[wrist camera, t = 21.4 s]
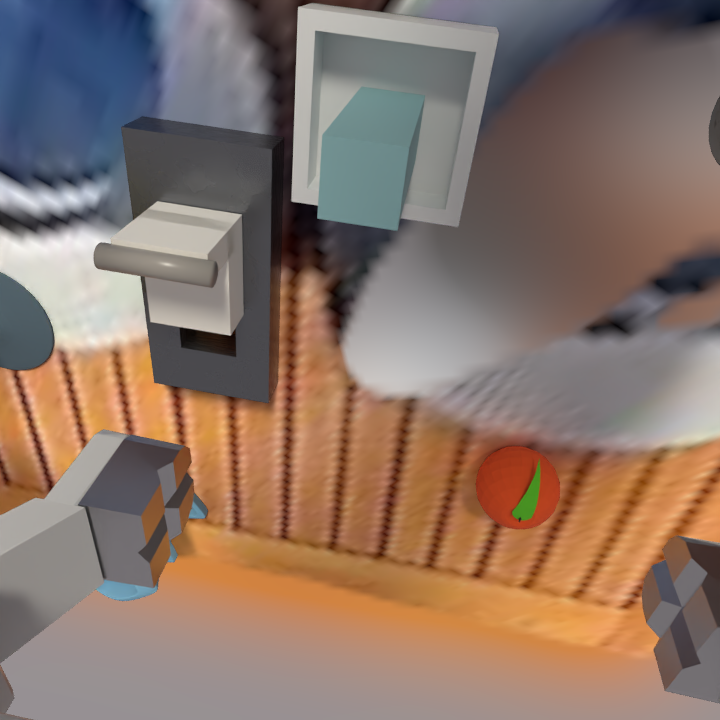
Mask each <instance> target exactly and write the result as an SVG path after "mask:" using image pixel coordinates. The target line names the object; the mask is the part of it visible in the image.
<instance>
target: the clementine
mask: <svg viewBox="0 0 720 720" xmlns="http://www.w3.org/2000/svg"><path fill="white" fill-rule="evenodd" d="M476 490H477V496H478V500H479V502H480V504H481V506H482V508H483V509H484V511H485V512H486V514H487V515H488V516H489V517H490V518H492V519H493V520H494V521H496V522H497V523H499V524H500V525H502V526H505V527H508V528H512V529H528V528H533V527H536V526H538V525H540V524H541V523H543V522H544V521H546V520H547V519H548V518H549V517H550V516H551V515H552V514H553V512H554V510H555V508H556V506H557V503H558V501H559V498H560V482H559V479H558V477H557V474H556V471H555V469H554V467H553V466H552V465H551V464H550V462H549V461H548V460H547V459H546V458H545V457H544V456H543V455H541V454H540V453H538V452H537V451H534V450H532V449H529V448H526V447H521V446H510V447H505V448H502V449H500V450H498V451H496V452H494V453H492V454H491V455H490V456H489V457H487V458H486V460H485V461H484V463H483V464H482V466H481V467H480V469H479V472H478V475H477V480H476Z"/></svg>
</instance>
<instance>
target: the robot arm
mask: <svg viewBox="0 0 720 720" xmlns="http://www.w3.org/2000/svg"><path fill="white" fill-rule="evenodd" d="M191 462H192V461H191V454H190V448H188V447H186V446H183V445H178V444H173V443H168V442H164V441H159V440H154V439H149V438H144V437H140V436H135V435H128V434H123V433H118V432H113V431H109V430H104V429H103V430H102V431H100V432H98V433H96V434H95V435H94V436H93V437H92V439H91V440H90V441H89V442H88V444H87V445H86V446H85V447H84V449H83V450H82V451H81V453H80V454H79V455H78V456H77V458H76V459H75V460H74V461H73V463H72V464H71V465H70V467H69V468H68V469H67V470H66V472H65V473H64V474H63V475H62V477H61V478H60V479H59V481H58V482H57V483H56V484H55V486H54V487H53V488H52V490H51V491H50V492H49V493H48V495H47V496H46V497H45V498H44V499H40V498H34V499H32V500H30V501H28V502H26V503H24V504H22V505H20V506H18V507H16V508H14V509H12V510H10V511H8V512H6V513H4V514H2V515H0V663H1V662H2V661H4V660H5V659H6V658H8V657H9V656H10V655H12V654H13V653H14V652H16V651H17V650H18V649H19V648H21V647H22V646H23V645H24V644H26V643H27V642H28V641H30V640H31V639H32V638H34V637H35V636H36V635H38V634H39V633H40V632H41V631H42V630H44V629H45V628H46V627H48V626H49V625H50V624H52V623H53V622H54V621H56V620H57V619H58V618H60V617H61V616H62V615H63V614H65V613H66V612H67V611H69V610H70V609H71V608H72V607H74V606H75V605H76V604H78V603H79V602H80V601H81V600H83V599H84V598H85V597H87V596H88V595H89V594H90V593H92V592H93V591H94V590H96V589H97V588H98V587H100V586H101V585H102V584H103V583H104V580H108V581H114V582H120V583H126V584H131V585H137V586H143V587H149V588H154V587H155V585H156V583H157V581H158V579H159V577H160V575H161V573H162V571H163V569H164V567H165V565H166V563H167V561H168V559H169V557H170V555H171V552H170V544H169V541H170V540H171V539H173V538H175V537H176V536H178V535H179V534H181V533H182V531H183V529H184V527H185V525H186V523H187V520H188V518H189V514H190V511H191V507H192V504H193V496H194V483H193V479H192V478H191V477H190V476H189V475H188V474H187V473H186V472H187V470H188V468H189V466H190V464H191ZM662 550H663V553H664V556H665V559H666V560H664V561H662V562H660V563H657V564H655V565H653V566H651V568H650V570H649V572H648V573H647V575H646V577H645V579H644V584H643V590H642V604H643V611H644V615H645V619H646V623H647V624H648V625H649V626H650V628H651V629H652V630H653V631H654V632H655V633H656V634H657V636H658V637H659V638H660V639H659V640H658V642H657V644H656V646H655V648H654V653H655V657H656V660H657V664H658V668H659V671H660V674H661V678H662V682H663V685H664V689H665V691H667V692H672V693H676V694H680V695H685V696H689V697H694V698H698V699H703V700H707V701H711V702H715V703H720V543H717V542H711V541H705V540H699V539H694V538H688V537H682V536H674V537H673V538H671V539H669V540H668V542H667V543H666V545H665V546H664V548H663V549H662ZM13 699H14V694H13V689H12V687H11V685H10V683H9V681H8V679H7V677H6V675H5V673H4V671H3V669H2V667H1V665H0V720H32V719H28V718H23V717H19V716H14V715H9V714H5V713H6V712H7V710H8V708H9V707H10V705H11V703H12V701H13Z"/></svg>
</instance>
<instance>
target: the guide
mask: <svg viewBox="0 0 720 720" xmlns="http://www.w3.org/2000/svg"><path fill="white" fill-rule="evenodd" d="M121 129H122V137H123V144H124V152H125V160H126V167H127V175H128V183H129V191H130V198H131V206H132V214H133V220H134V219H136V218H137V217H138V216H139V215H141V214H142V213H143V212H144V211H146V210H147V209H148V208H149V207H151V206H152V205H153V204H155V203H156V202H157V201H159V202H166V203H172V204H178V205H185V206H191V207H197V208H204V209H210V210H216V211H223V212H229V213H235V214H242V243H243V304H244V315H243V317H242V318H241V320H240V322H239V323H238V325H237V326H236V335H231V336H229V335H224V334H218V333H212V332H206V331H200V330H195V329H189V328H183V327H177V326H171V325H165V324H160V323H154V322H150V314H149V306H148V298H147V290H146V282H145V277H143V276H141V283H142V291H143V299H144V306H145V314H146V322H147V329H148V337H149V345H150V353H151V360H152V368H153V376H154V383H159V384H164V385H170V386H175V387H181V388H187V389H192V390H198V391H203V392H209V393H215V394H220V395H226V396H231V397H237V398H243V399H248V400H254V401H259V402H265V403H269V401H270V399H271V396H272V394H273V392H274V390H275V387H276V385H277V383H278V359H279V319H280V279H281V239H282V200H283V160H284V137H277V136H271V135H264V134H257V133H250V132H244V131H237V130H230V129H223V128H217V127H210V126H203V125H196V124H190V123H183V122H176V121H169V120H163V119H156V118H149V117H140V118H138V119H136V120H134V121H132V122H130V123H128V124H126V125H124V126H122V127H121Z"/></svg>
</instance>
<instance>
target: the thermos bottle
mask: <svg viewBox="0 0 720 720" xmlns="http://www.w3.org/2000/svg"><path fill="white" fill-rule="evenodd" d="M709 143H710V147H711V152H712V154H713V156H714V158H715V160H716V162H717V163H718V164H719V165H720V97H719V98H718V100H717V103H716V105H715V107H714V110H713V112H712V116H711V120H710V125H709Z"/></svg>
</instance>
